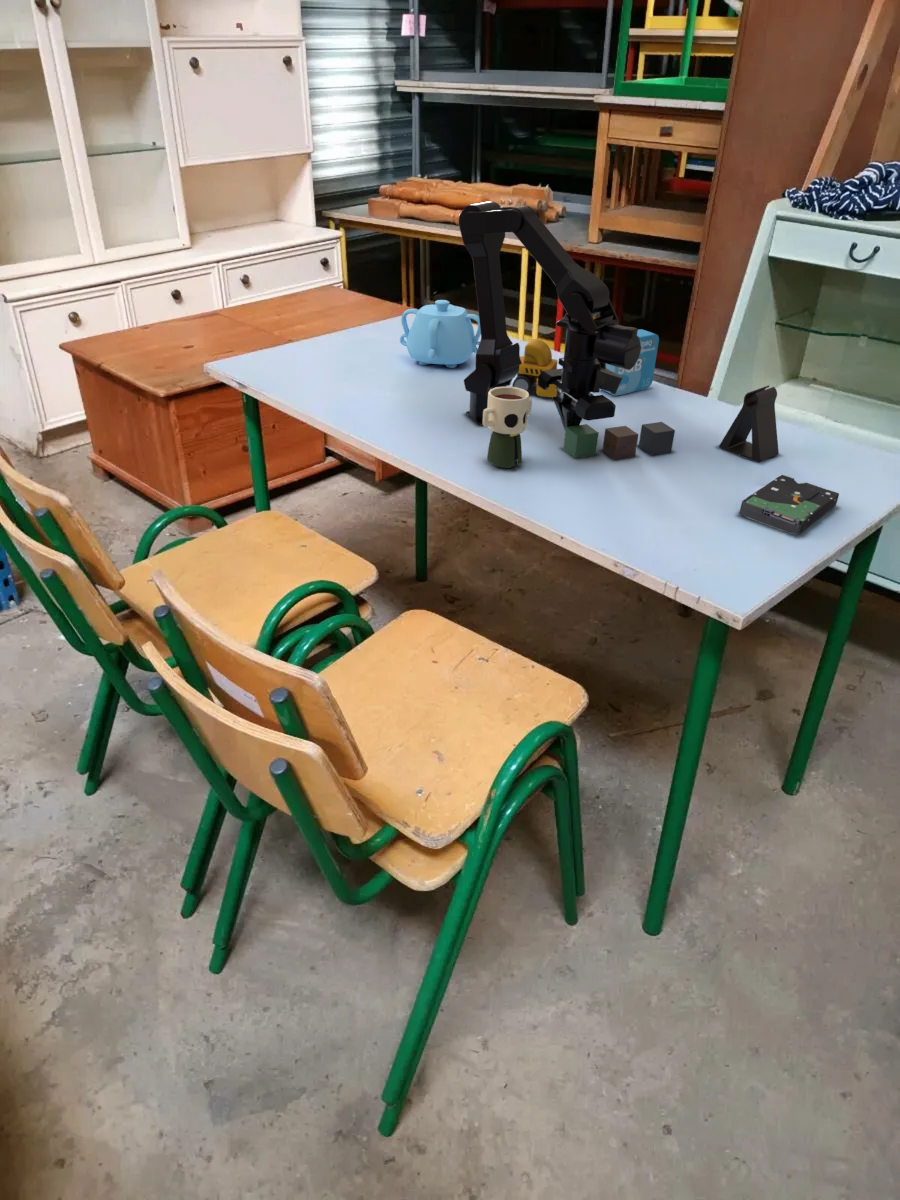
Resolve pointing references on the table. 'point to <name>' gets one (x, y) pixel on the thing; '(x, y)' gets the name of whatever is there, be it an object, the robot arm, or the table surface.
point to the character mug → (506, 424)
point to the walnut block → (620, 442)
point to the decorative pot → (440, 334)
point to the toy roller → (535, 368)
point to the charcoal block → (656, 438)
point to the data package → (638, 366)
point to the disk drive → (788, 504)
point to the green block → (580, 440)
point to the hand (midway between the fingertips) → (570, 437)
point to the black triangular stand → (754, 427)
